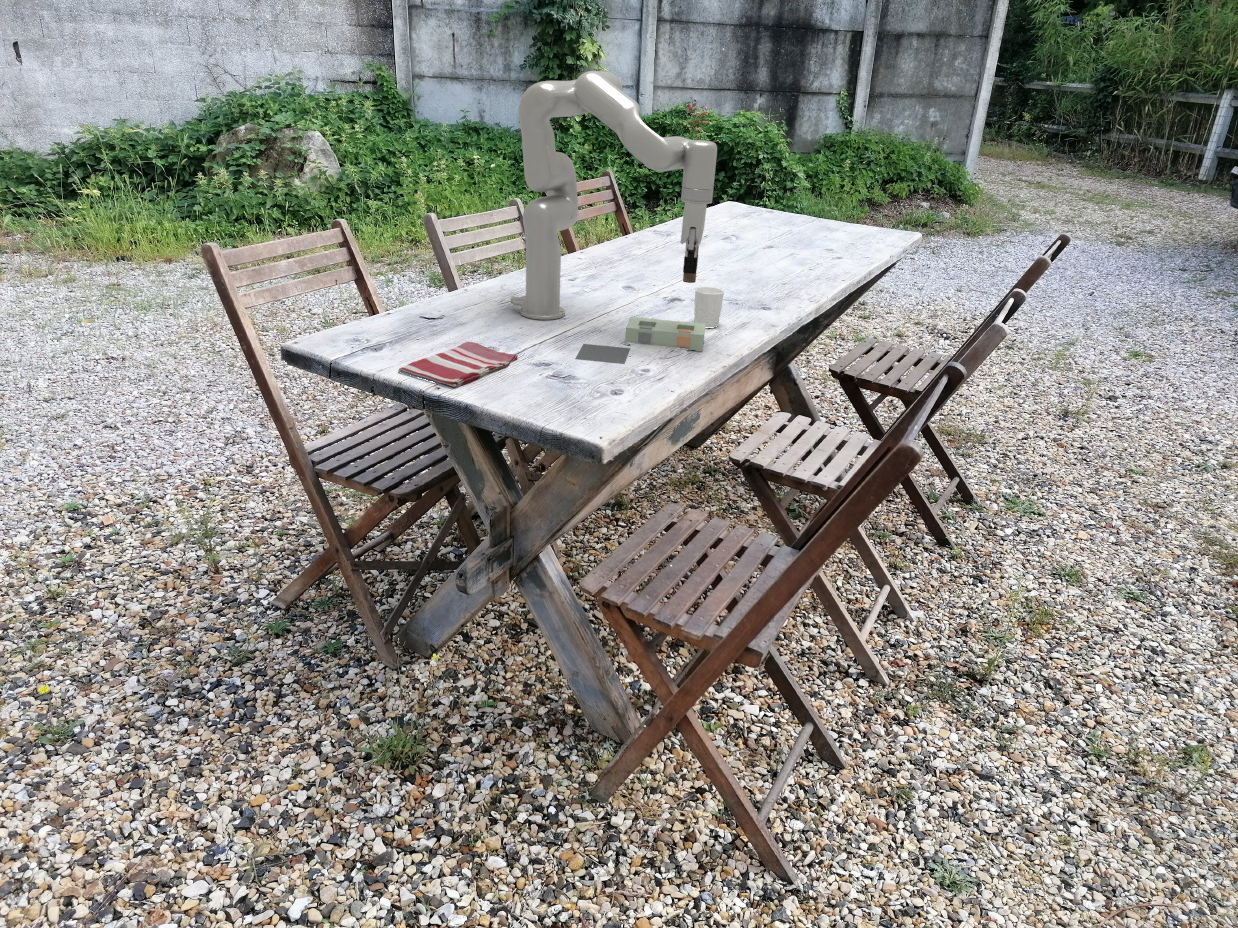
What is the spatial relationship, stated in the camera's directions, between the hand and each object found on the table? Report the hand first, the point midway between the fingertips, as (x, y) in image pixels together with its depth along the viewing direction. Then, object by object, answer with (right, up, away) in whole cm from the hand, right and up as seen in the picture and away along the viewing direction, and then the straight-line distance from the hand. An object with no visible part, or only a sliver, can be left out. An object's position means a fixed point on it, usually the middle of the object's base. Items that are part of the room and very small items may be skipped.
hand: (690, 270), depth 209 cm
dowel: (0, -2, +1) cm, 3 cm away
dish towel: (-55, -27, -16) cm, 63 cm away
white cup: (+7, -10, +25) cm, 28 cm away
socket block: (-6, -17, +9) cm, 20 cm away
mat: (-22, -22, -4) cm, 31 cm away
